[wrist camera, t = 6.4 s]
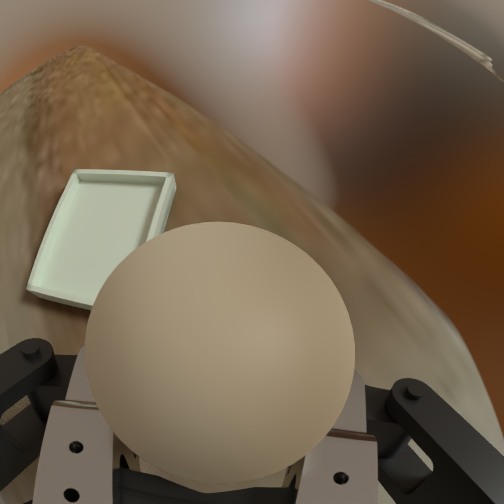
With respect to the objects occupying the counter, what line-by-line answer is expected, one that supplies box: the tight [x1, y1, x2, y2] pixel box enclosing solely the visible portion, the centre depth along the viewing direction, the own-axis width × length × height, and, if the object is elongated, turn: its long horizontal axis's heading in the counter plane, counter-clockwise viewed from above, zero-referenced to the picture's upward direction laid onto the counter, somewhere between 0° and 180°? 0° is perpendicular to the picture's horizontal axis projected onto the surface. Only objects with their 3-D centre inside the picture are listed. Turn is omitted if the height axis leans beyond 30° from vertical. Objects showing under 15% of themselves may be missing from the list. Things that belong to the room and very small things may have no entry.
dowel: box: [85, 222, 355, 484], centre depth 9 cm, size 4×4×12 cm
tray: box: [26, 169, 176, 310], centre depth 24 cm, size 11×13×2 cm
